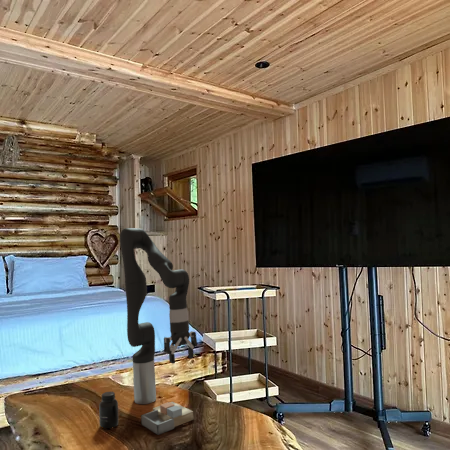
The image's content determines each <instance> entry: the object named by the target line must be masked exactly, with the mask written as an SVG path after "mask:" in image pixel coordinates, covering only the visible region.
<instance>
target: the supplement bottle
mask: <svg viewBox="0 0 450 450" xmlns="http://www.w3.org/2000/svg"><path fill="white" fill-rule="evenodd" d="M115 395H116V393H115V392H114V391H106V392H103V393H102V394H101V401H100V402H99V405H98V407H99V409H98V410H99V411H98V412H99V413H98V414H99V415H98V416H99V427H100V426H101V427H103V428H112V427H114V428H116V427H117V426H119V402H118V400H117V399H116V396H115ZM115 426H116V427H115ZM101 427H100V428H101ZM112 429H113V428H112Z"/></svg>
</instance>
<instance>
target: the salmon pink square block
mask: <svg viewBox="0 0 450 450" xmlns="http://www.w3.org/2000/svg"><path fill="white" fill-rule="evenodd" d="M159 406H160V412H162V413H164V414H167V408H170V407H173V406H175V405H174V404H172V403H170V401H167V402H165V403H162V404H159Z"/></svg>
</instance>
